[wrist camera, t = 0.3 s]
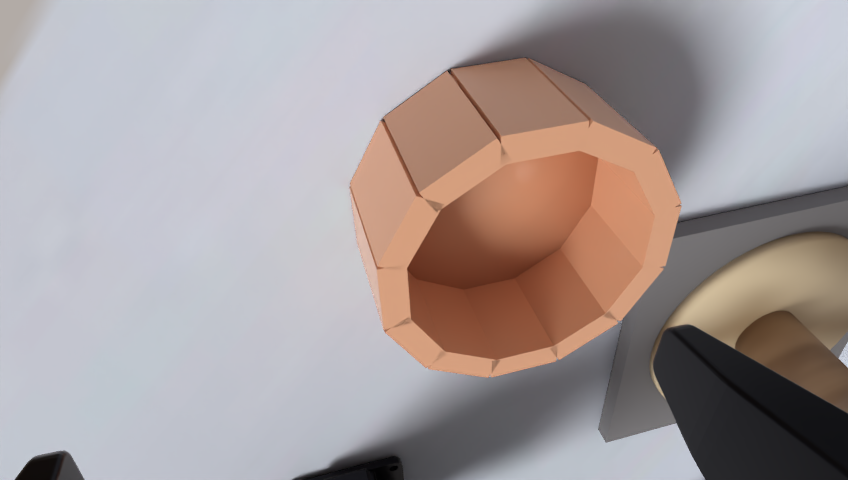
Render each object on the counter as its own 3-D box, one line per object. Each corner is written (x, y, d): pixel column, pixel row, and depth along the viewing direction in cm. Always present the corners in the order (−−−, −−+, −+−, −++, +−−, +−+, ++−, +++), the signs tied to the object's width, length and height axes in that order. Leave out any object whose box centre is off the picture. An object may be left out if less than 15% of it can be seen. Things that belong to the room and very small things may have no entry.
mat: (814, 370, 43) (824, 381, 42) (598, 429, 40) (605, 442, 39) (921, 170, 33) (938, 180, 32) (643, 230, 30) (654, 242, 29)
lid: (813, 372, 41) (886, 447, 37) (631, 421, 39) (686, 509, 34) (900, 209, 33) (1008, 282, 28) (676, 260, 30) (756, 347, 26)
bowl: (590, 264, 30) (646, 338, 27) (366, 314, 28) (392, 402, 25) (628, 41, 24) (709, 99, 20) (335, 86, 22) (363, 160, 18)
